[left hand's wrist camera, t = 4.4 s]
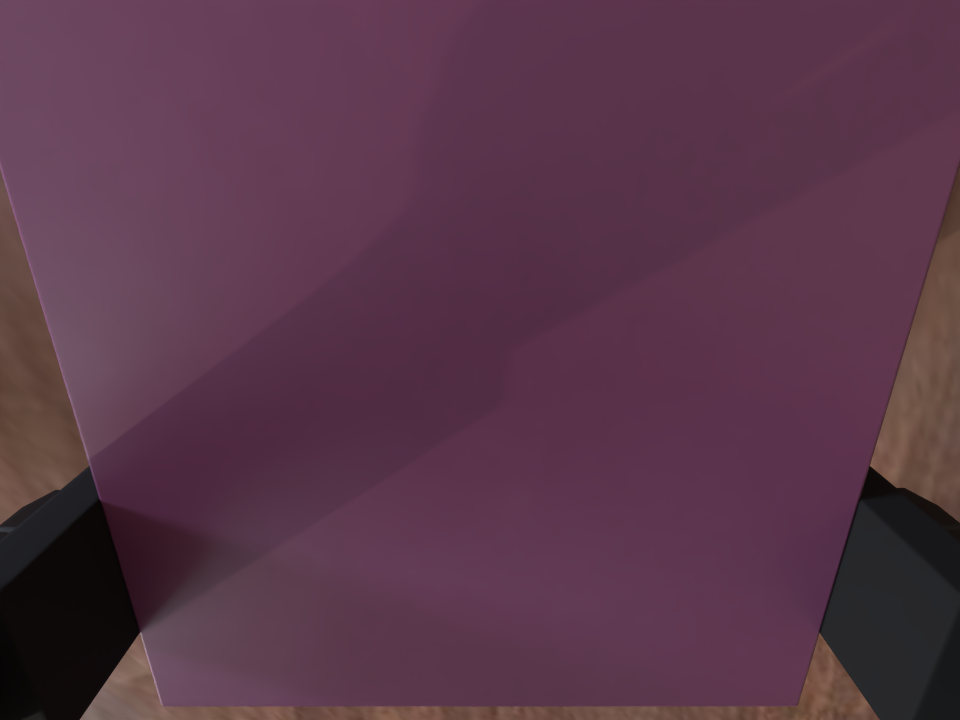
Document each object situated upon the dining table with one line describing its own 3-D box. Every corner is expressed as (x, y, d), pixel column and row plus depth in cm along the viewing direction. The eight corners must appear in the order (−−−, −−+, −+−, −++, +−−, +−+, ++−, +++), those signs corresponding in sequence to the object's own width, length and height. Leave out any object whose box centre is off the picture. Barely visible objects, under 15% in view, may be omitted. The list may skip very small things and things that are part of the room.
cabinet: (237, -301, 13) (-621, -1872, 3) (722, -301, 13) (1580, -1872, 3) (322, 421, 20) (160, 708, 10) (637, 421, 20) (799, 708, 10)
